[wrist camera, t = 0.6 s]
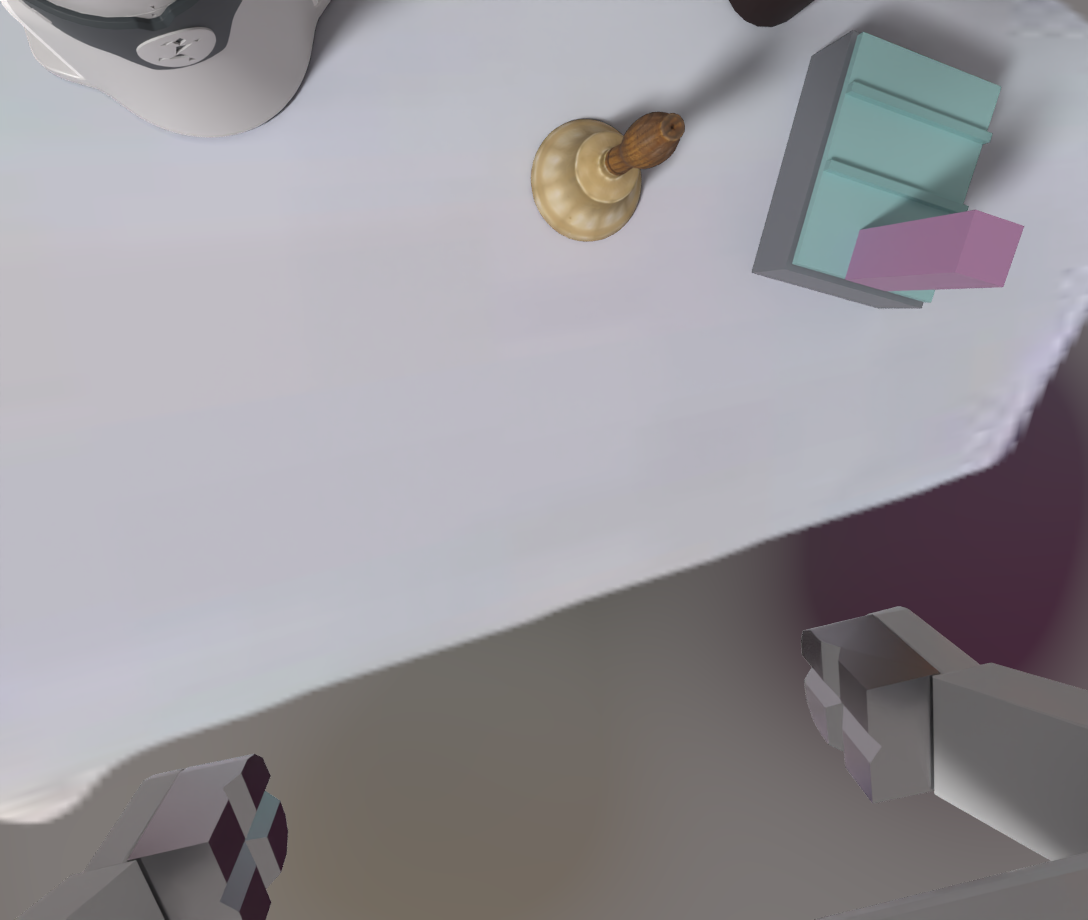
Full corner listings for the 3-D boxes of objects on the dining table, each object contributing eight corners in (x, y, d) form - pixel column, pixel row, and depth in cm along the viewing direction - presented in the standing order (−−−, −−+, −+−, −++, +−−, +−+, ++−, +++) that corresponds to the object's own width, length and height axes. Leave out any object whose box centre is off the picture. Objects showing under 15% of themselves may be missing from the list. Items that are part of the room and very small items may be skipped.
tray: (811, 56, 49) (853, 30, 44) (942, 105, 52) (993, 86, 47) (751, 272, 52) (784, 269, 47) (878, 308, 55) (921, 308, 50)
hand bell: (650, 133, 48) (761, 52, 33) (629, 250, 50) (727, 225, 34) (540, 107, 46) (604, 9, 31) (522, 230, 48) (575, 193, 33)
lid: (857, 35, 44) (990, -46, 34) (994, 89, 47) (1155, 29, 37) (791, 265, 47) (896, 254, 37) (924, 304, 50) (1056, 303, 40)
